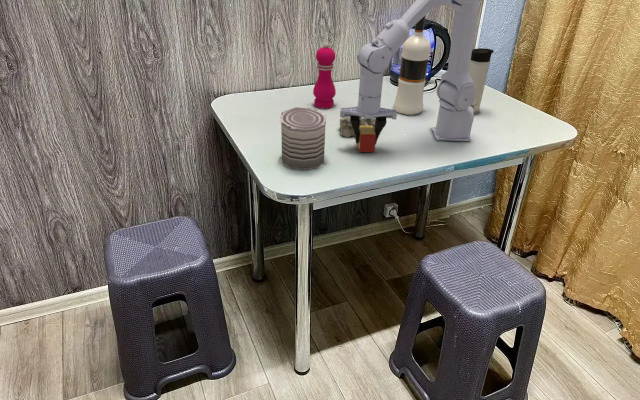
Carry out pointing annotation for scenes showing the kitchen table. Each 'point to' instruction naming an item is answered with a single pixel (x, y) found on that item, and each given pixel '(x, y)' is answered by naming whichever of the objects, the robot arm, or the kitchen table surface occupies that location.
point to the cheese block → (366, 139)
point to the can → (303, 138)
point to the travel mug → (479, 73)
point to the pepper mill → (324, 78)
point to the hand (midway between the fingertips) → (365, 142)
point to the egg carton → (348, 129)
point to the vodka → (413, 72)
